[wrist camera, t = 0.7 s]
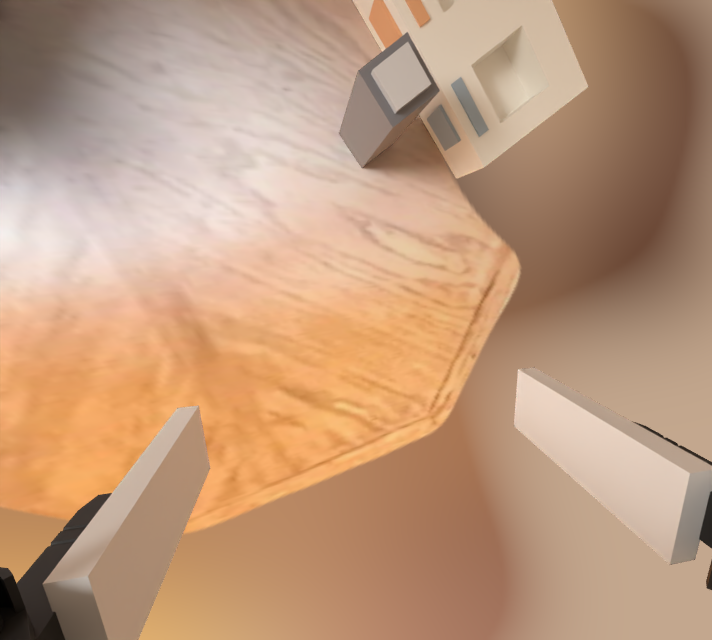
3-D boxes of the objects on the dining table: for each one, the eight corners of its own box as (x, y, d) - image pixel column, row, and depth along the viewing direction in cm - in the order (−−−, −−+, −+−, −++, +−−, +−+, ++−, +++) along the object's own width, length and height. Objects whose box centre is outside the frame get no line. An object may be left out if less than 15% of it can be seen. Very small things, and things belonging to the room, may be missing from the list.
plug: (338, 133, 34) (359, 66, 21) (369, 109, 34) (410, 25, 21) (361, 168, 35) (395, 124, 22) (391, 144, 35) (443, 86, 22)
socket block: (345, -5, 31) (355, -63, 25) (449, -88, 31) (484, -167, 25) (454, 180, 37) (482, 169, 31) (543, 111, 36) (590, 85, 30)
